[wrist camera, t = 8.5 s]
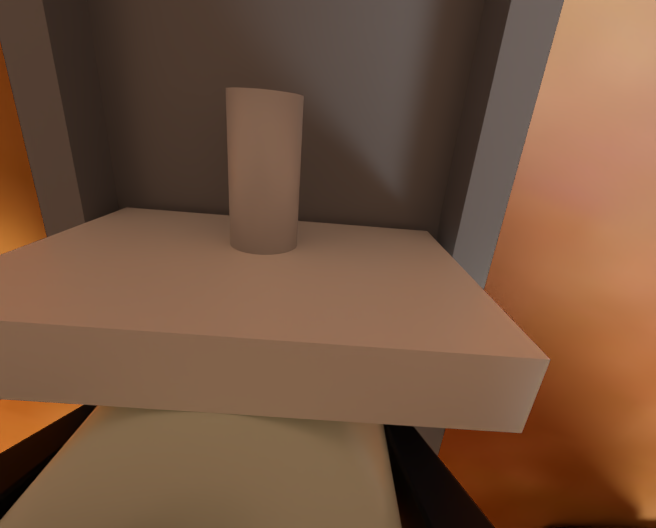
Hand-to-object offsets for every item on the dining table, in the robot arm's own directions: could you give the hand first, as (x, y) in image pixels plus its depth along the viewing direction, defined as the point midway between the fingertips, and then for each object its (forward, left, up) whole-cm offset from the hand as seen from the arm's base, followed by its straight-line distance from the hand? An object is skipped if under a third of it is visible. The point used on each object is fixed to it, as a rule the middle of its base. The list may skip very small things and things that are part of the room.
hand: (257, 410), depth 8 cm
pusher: (+5, 0, -3) cm, 6 cm away
